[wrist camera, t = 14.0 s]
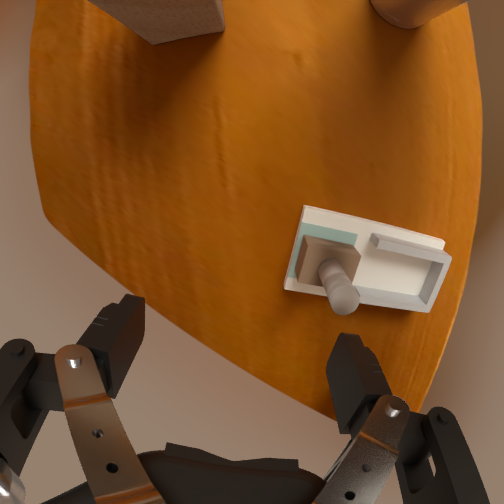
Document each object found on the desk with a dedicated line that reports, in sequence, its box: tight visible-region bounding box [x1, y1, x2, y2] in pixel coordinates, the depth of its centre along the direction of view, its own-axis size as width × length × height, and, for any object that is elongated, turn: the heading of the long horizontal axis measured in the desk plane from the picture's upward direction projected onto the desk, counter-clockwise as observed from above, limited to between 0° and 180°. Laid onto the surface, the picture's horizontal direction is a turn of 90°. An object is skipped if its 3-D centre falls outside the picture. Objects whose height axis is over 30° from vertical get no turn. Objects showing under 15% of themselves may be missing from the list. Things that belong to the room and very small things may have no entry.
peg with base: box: [295, 235, 361, 315], centre depth 36 cm, size 7×5×12 cm
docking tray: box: [283, 205, 452, 313], centre depth 41 cm, size 23×12×4 cm, turn 79°
